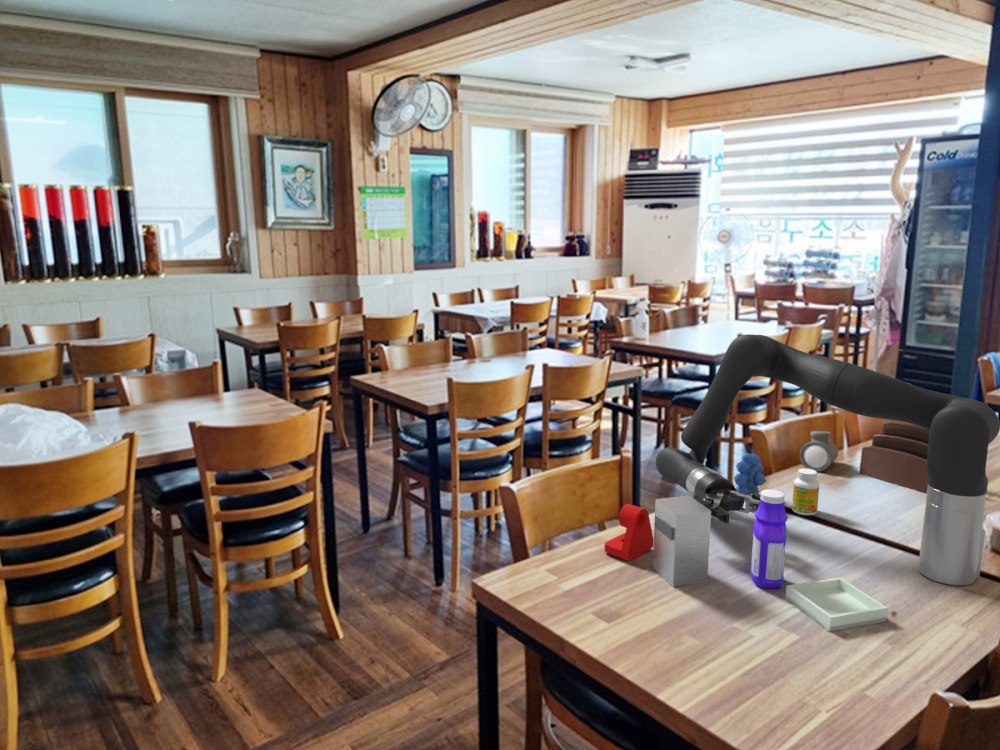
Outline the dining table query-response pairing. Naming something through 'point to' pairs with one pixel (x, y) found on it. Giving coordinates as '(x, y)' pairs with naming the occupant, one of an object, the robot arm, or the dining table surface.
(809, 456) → the pipe fitting
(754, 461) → the grapes
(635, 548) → the bracket
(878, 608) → the tray
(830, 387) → the robot arm
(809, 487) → the supplement bottle
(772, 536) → the bottle
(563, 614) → the dining table surface
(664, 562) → the dispenser
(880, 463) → the letter holder
